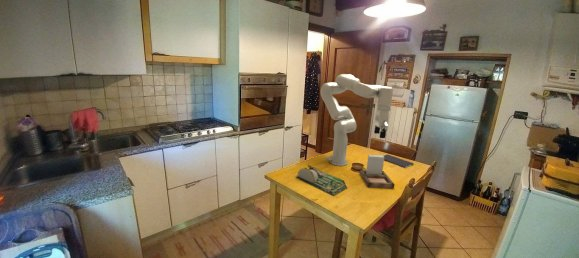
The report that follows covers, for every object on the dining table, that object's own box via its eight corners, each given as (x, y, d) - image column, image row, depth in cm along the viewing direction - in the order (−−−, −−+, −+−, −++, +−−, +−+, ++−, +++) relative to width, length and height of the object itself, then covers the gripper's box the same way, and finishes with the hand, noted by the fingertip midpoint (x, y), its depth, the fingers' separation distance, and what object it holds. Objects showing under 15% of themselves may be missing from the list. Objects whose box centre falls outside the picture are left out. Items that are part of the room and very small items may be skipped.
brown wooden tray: (367, 188, 139) (368, 182, 138) (359, 174, 156) (360, 169, 155) (393, 189, 139) (394, 184, 138) (382, 175, 156) (383, 170, 155)
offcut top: (370, 185, 141) (371, 183, 140) (367, 180, 148) (367, 177, 147) (387, 186, 141) (388, 184, 140) (383, 180, 148) (383, 178, 147)
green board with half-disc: (291, 164, 149) (311, 157, 163) (290, 176, 151) (311, 167, 165) (334, 184, 127) (354, 173, 141) (333, 197, 129) (352, 185, 143)
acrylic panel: (366, 178, 151) (369, 156, 147) (365, 176, 154) (368, 154, 150) (380, 179, 151) (384, 157, 147) (379, 177, 154) (382, 155, 150)
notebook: (378, 159, 186) (405, 168, 170) (378, 157, 186) (405, 166, 170) (387, 156, 194) (413, 165, 178) (387, 154, 194) (414, 163, 177)
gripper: (372, 105, 149) (368, 131, 154) (382, 110, 132) (378, 139, 137) (384, 105, 149) (380, 132, 153) (395, 110, 132) (391, 140, 137)
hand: (379, 135), depth 145 cm, fingers open, 9 cm apart
